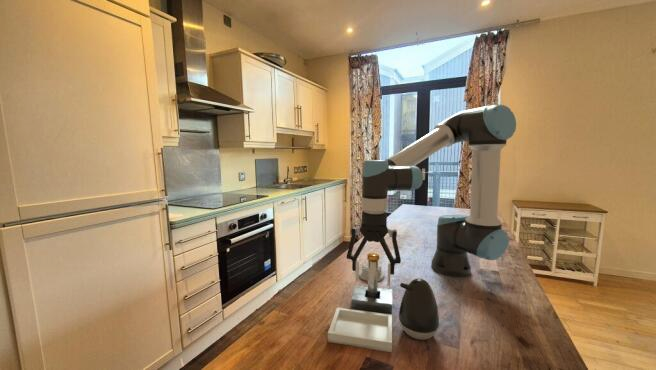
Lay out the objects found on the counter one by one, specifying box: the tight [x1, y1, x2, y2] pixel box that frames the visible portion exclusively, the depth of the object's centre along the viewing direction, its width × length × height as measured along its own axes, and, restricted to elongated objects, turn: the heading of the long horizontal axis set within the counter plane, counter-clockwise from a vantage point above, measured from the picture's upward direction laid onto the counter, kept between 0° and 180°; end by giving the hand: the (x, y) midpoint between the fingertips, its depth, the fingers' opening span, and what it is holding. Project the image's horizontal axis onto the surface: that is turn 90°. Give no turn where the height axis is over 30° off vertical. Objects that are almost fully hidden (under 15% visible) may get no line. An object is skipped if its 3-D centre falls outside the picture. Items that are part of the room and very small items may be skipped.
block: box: [350, 285, 393, 316], centre depth 85 cm, size 12×9×4 cm
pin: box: [367, 252, 380, 299], centre depth 85 cm, size 4×4×17 cm
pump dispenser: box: [398, 278, 440, 341], centre depth 73 cm, size 10×10×15 cm
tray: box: [327, 306, 393, 353], centre depth 74 cm, size 16×12×2 cm
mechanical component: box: [359, 262, 385, 282], centre depth 108 cm, size 10×4×10 cm
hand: (372, 282), depth 85 cm, fingers open, 9 cm apart
